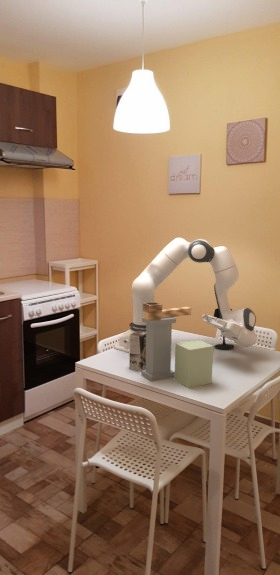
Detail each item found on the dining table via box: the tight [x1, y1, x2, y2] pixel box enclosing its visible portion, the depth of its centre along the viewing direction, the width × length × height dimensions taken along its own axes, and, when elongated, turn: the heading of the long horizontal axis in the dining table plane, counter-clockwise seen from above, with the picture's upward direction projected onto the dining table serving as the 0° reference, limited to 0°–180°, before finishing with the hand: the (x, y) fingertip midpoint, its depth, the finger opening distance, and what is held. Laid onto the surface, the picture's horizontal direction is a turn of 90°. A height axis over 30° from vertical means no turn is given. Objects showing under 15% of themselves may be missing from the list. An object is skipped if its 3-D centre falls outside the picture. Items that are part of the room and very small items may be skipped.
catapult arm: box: [142, 301, 192, 320], centre depth 191 cm, size 22×6×6 cm, turn 119°
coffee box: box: [128, 330, 146, 372], centre depth 203 cm, size 9×6×16 cm
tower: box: [140, 317, 177, 382], centre depth 191 cm, size 12×8×26 cm, turn 119°
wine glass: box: [213, 308, 235, 350], centre depth 235 cm, size 10×10×20 cm
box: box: [174, 339, 214, 389], centre depth 187 cm, size 12×10×16 cm
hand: (209, 317), depth 203 cm, fingers open, 8 cm apart
